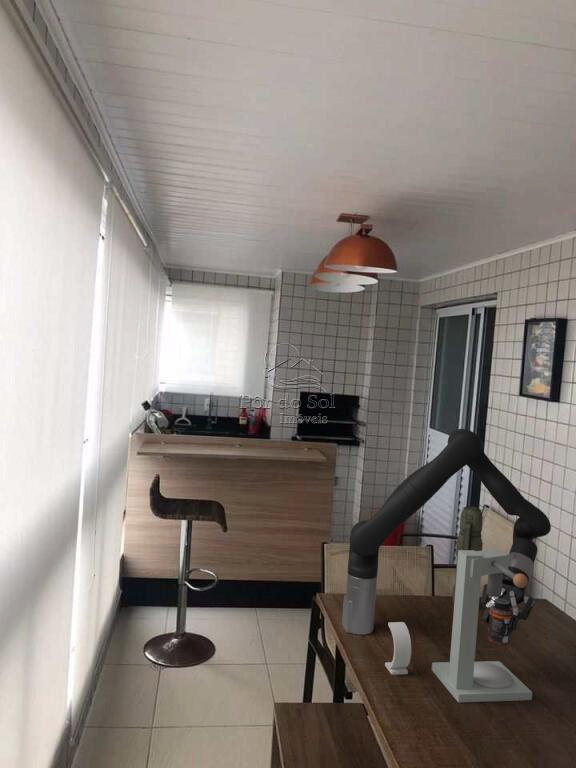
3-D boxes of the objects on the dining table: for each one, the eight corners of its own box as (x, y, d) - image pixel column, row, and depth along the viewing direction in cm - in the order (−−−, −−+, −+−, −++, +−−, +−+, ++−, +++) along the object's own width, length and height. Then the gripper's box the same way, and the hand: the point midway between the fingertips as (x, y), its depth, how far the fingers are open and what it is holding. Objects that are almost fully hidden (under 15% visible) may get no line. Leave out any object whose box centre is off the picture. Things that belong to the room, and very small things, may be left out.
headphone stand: (400, 664, 165) (403, 622, 165) (409, 676, 159) (412, 631, 159) (384, 665, 164) (388, 622, 164) (393, 676, 158) (396, 632, 158)
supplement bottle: (512, 648, 160) (515, 606, 159) (488, 644, 161) (492, 603, 160) (508, 638, 166) (511, 598, 165) (486, 635, 167) (489, 595, 166)
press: (477, 725, 138) (489, 572, 138) (431, 669, 164) (441, 539, 163) (555, 722, 142) (567, 572, 141) (498, 668, 167) (508, 540, 166)
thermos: (450, 608, 209) (457, 509, 208) (453, 597, 220) (461, 502, 219) (476, 613, 206) (484, 512, 205) (478, 602, 216) (486, 506, 216)
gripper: (488, 559, 173) (469, 610, 164) (540, 572, 164) (522, 628, 155) (494, 573, 177) (475, 624, 168) (544, 587, 168) (527, 641, 159)
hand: (497, 625), depth 162 cm, fingers closed on supplement bottle, 6 cm apart
